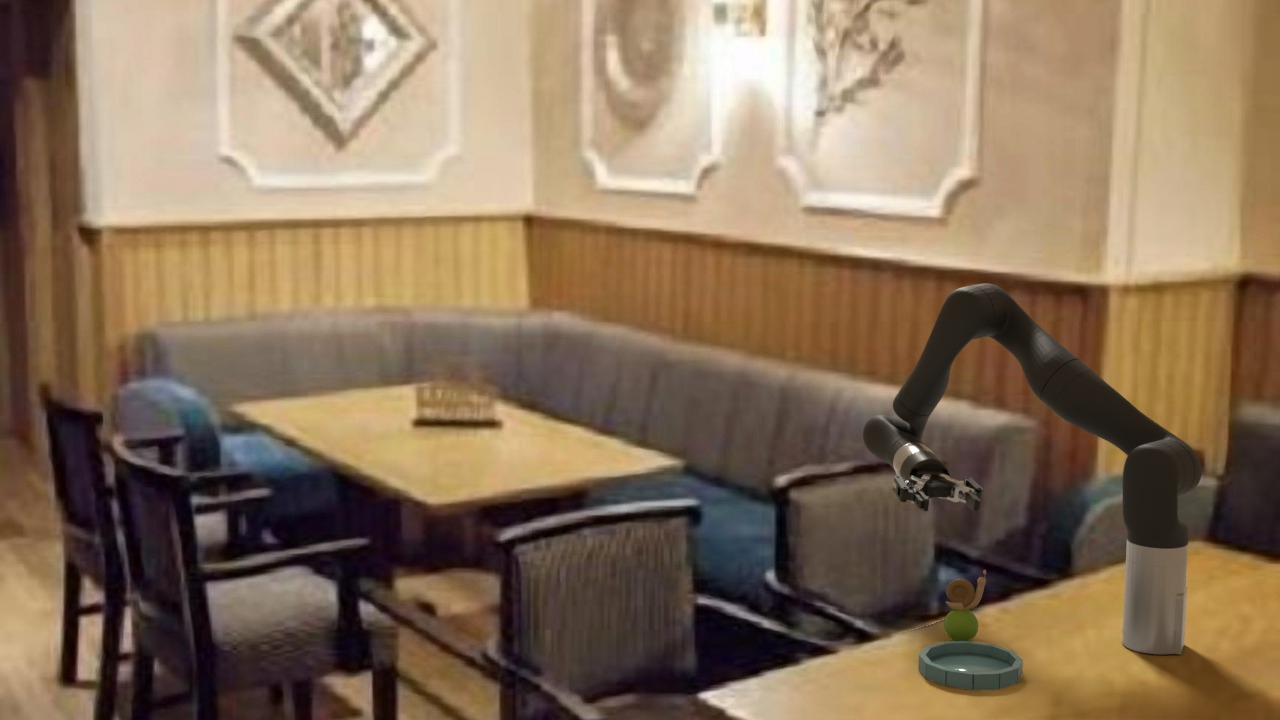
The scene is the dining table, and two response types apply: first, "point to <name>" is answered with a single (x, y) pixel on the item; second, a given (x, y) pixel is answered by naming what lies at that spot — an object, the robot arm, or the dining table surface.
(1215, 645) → the dining table surface
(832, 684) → the dining table surface
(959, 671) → the dish
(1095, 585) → the dining table surface
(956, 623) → the snail figurine
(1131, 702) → the dining table surface
